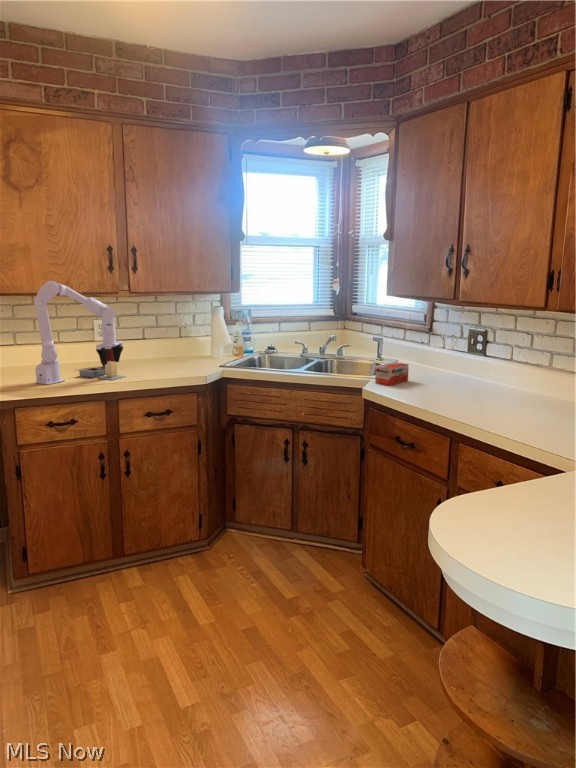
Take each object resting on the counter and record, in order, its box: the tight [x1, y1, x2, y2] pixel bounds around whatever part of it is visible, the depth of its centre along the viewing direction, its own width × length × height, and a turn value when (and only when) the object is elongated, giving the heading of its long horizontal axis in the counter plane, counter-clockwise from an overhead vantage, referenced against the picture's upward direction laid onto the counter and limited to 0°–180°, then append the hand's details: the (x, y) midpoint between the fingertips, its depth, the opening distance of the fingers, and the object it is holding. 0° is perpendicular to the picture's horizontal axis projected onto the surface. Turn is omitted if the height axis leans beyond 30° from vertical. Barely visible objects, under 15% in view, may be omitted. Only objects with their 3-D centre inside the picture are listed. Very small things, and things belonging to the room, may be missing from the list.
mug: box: [98, 347, 114, 368], centre depth 279 cm, size 10×8×10 cm
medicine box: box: [374, 361, 409, 386], centre depth 243 cm, size 15×8×8 cm, turn 138°
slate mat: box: [96, 374, 126, 381], centre depth 253 cm, size 9×9×1 cm
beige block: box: [105, 361, 118, 378], centre depth 252 cm, size 4×4×7 cm
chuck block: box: [78, 366, 106, 379], centre depth 257 cm, size 9×9×3 cm
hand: (110, 363), depth 251 cm, fingers open, 7 cm apart
